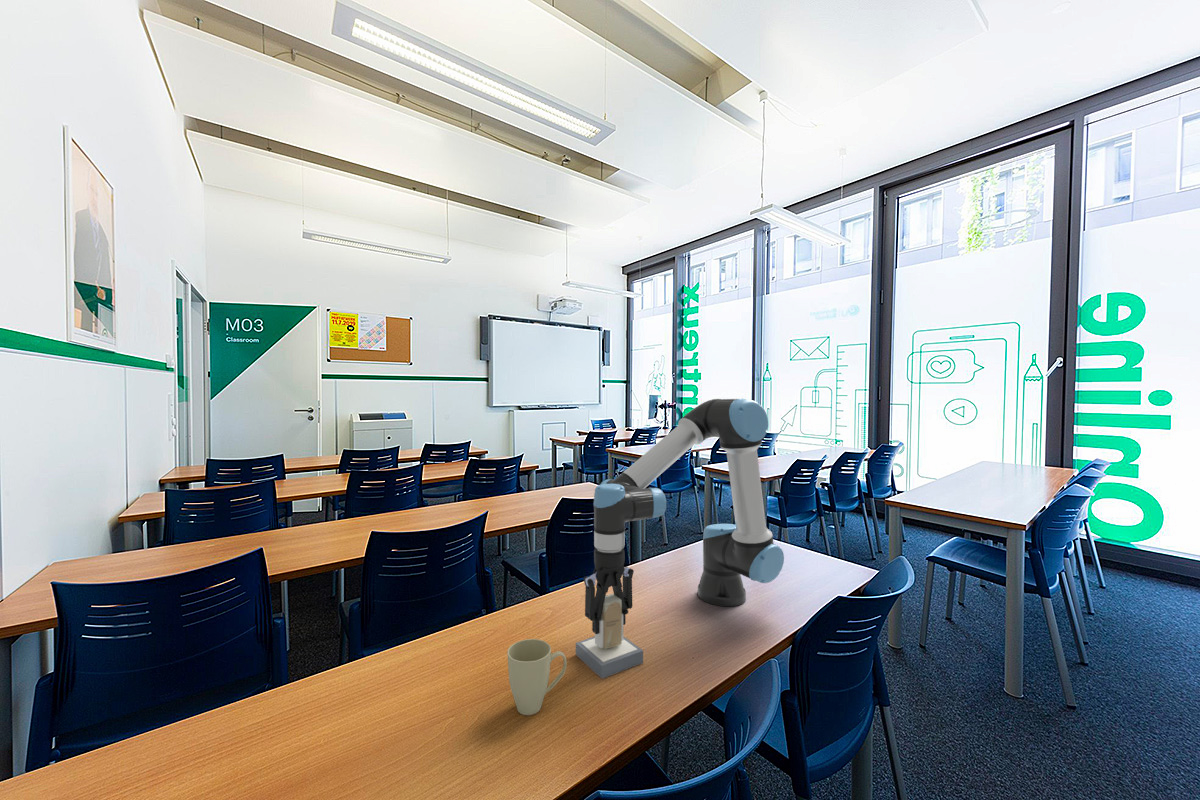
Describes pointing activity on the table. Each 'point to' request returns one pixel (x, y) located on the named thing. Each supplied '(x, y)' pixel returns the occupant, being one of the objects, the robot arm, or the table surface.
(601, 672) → the pedestal
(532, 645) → the mug
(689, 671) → the table surface
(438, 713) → the table surface
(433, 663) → the table surface
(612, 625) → the box
